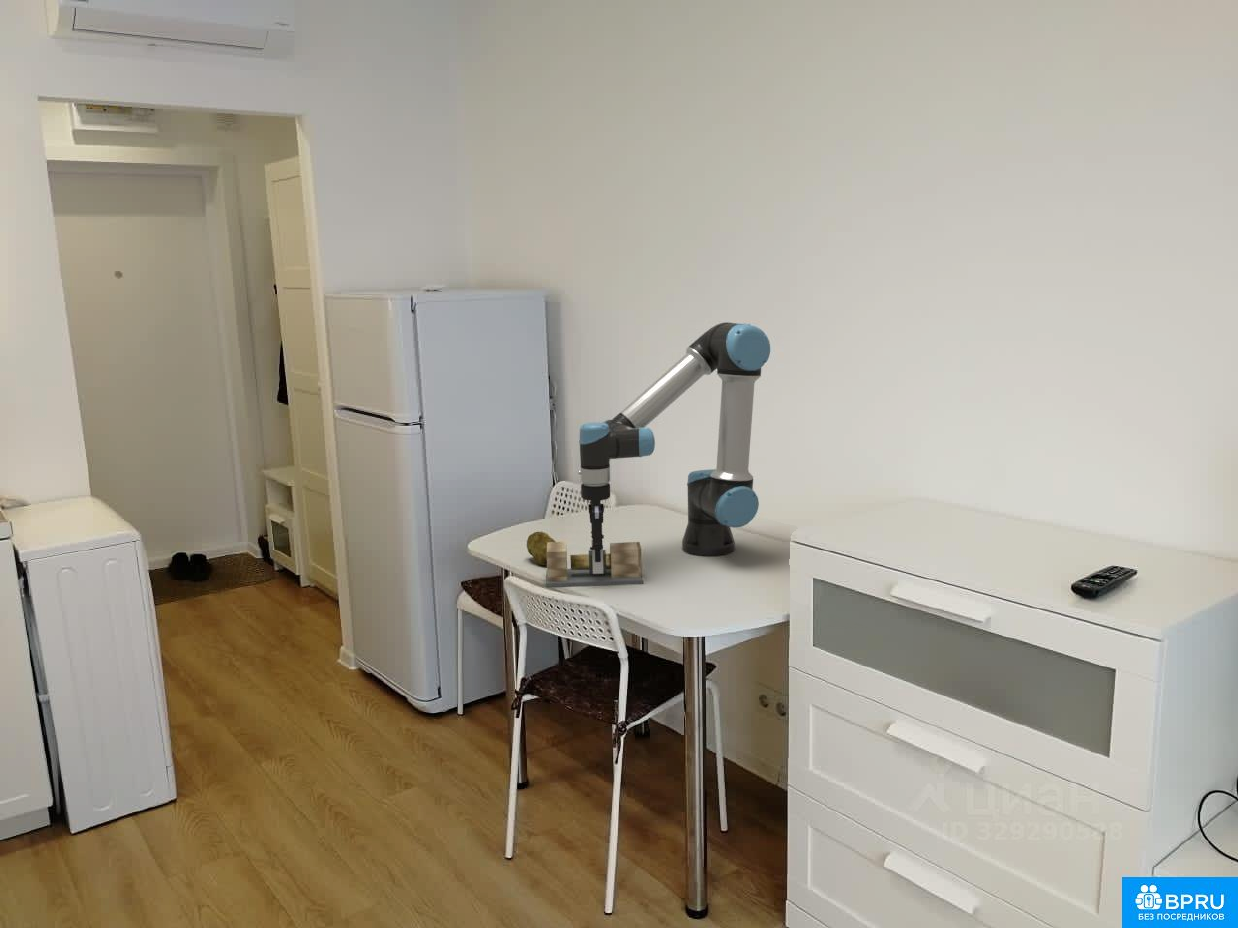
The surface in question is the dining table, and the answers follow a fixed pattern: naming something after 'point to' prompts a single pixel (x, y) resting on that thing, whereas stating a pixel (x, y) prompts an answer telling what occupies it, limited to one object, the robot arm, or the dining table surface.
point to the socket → (556, 561)
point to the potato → (539, 546)
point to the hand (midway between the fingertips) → (597, 568)
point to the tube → (589, 562)
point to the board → (591, 579)
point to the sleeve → (626, 560)
